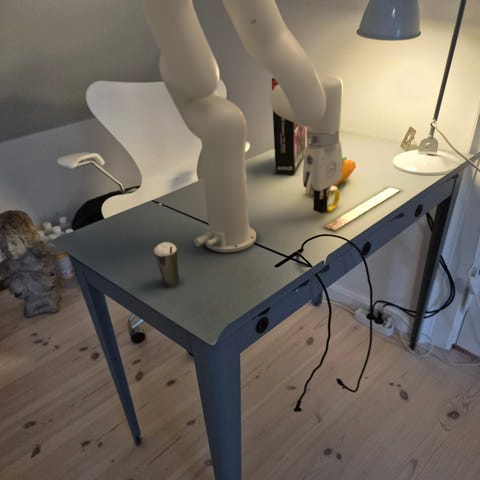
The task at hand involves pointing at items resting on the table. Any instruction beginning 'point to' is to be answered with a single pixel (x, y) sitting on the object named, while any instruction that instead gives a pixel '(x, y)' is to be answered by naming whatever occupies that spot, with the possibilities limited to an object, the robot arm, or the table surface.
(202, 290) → the table surface
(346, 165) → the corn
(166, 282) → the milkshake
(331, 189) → the watch
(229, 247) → the robot arm
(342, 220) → the ruler
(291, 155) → the graphics card box
